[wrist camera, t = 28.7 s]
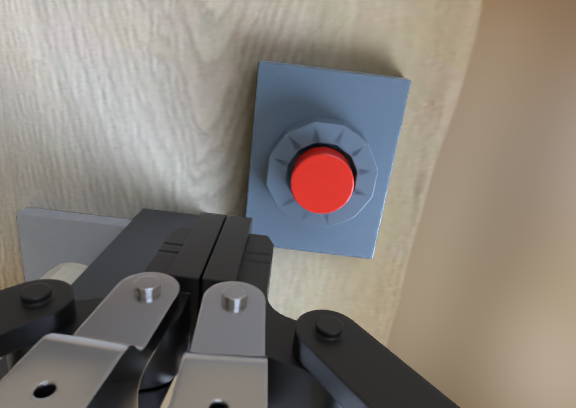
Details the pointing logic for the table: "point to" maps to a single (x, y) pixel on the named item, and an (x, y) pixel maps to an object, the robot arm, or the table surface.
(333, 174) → the button
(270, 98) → the pad
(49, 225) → the coffee maker
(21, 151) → the table surface
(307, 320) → the robot arm
